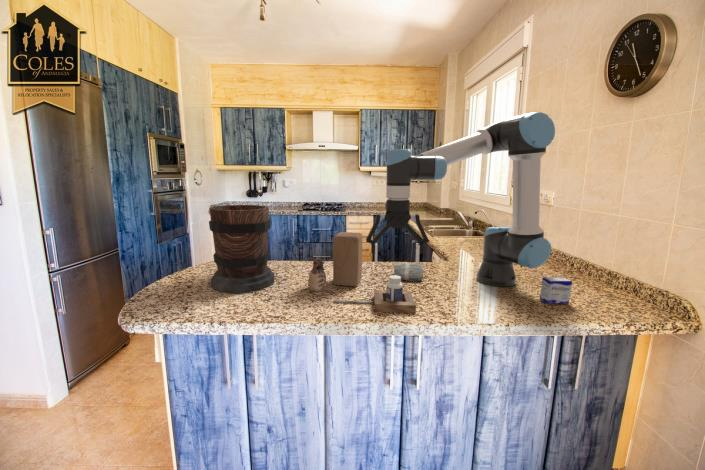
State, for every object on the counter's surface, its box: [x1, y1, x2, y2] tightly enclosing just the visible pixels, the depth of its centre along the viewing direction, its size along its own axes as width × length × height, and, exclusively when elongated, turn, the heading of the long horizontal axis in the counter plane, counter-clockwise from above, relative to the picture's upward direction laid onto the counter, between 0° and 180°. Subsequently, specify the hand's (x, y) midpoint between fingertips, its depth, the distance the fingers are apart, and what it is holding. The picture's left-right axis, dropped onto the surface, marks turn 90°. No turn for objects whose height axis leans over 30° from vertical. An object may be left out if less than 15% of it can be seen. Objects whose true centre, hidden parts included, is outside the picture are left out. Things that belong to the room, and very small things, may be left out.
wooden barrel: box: [208, 204, 275, 294], centre depth 130 cm, size 24×30×30 cm
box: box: [539, 276, 573, 305], centre depth 114 cm, size 8×4×9 cm, turn 94°
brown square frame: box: [333, 289, 417, 314], centre depth 111 cm, size 27×13×2 cm, turn 87°
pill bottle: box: [385, 274, 404, 302], centre depth 110 cm, size 5×5×10 cm
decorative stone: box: [393, 262, 424, 282], centre depth 139 cm, size 13×10×6 cm
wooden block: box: [332, 231, 363, 288], centre depth 130 cm, size 10×10×20 cm
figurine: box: [307, 257, 328, 293], centre depth 123 cm, size 7×7×12 cm
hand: (396, 263), depth 108 cm, fingers open, 13 cm apart
